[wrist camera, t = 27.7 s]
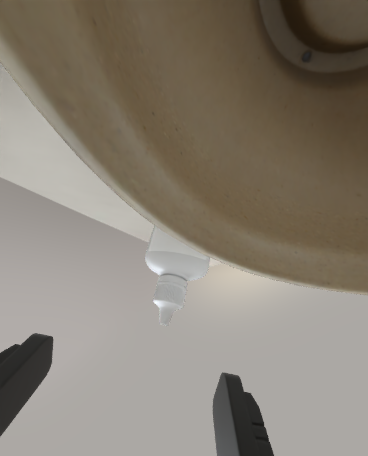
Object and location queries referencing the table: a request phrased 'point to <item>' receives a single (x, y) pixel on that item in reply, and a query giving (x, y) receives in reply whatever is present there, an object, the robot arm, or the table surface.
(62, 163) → the table surface
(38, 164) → the table surface
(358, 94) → the planter bowl
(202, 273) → the eye dropper bottle
